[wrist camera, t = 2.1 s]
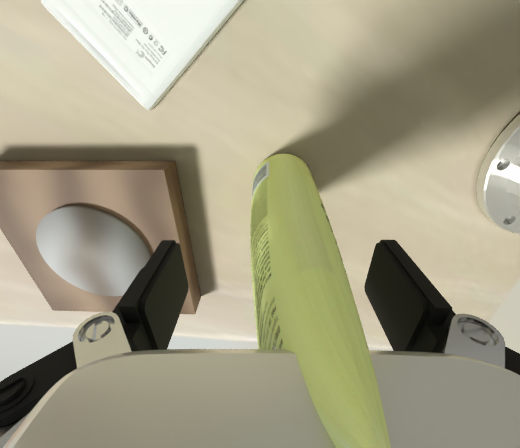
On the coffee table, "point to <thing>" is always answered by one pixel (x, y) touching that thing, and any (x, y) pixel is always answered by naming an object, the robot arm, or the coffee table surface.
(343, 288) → the tube
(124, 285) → the walnut base
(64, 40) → the coffee table surface
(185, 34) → the external hard drive
